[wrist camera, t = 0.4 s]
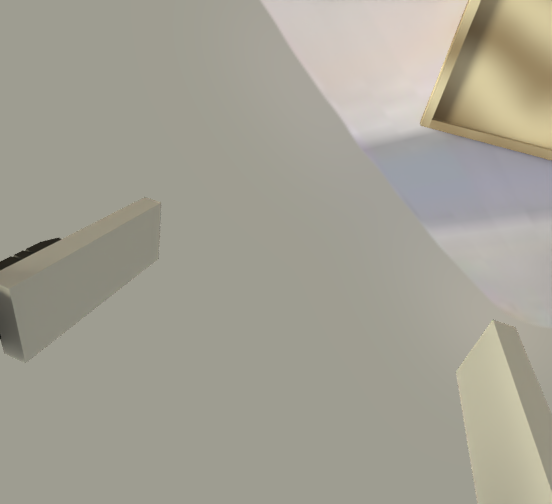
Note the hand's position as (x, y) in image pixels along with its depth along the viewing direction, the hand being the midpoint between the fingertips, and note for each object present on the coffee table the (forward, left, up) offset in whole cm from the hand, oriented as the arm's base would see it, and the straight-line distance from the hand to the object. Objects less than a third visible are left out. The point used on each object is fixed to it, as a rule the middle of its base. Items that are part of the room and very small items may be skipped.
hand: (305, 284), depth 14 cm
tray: (-11, +11, -27) cm, 31 cm away
